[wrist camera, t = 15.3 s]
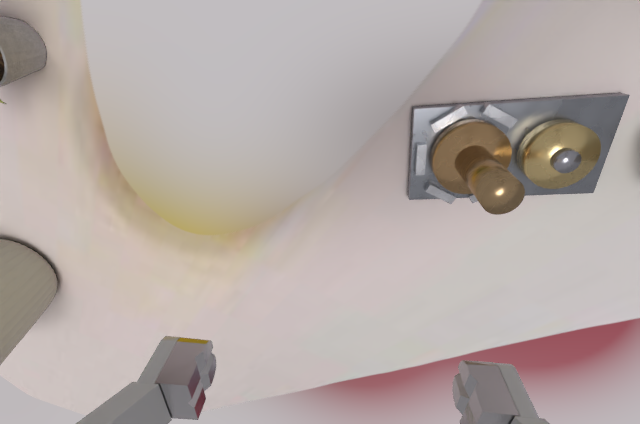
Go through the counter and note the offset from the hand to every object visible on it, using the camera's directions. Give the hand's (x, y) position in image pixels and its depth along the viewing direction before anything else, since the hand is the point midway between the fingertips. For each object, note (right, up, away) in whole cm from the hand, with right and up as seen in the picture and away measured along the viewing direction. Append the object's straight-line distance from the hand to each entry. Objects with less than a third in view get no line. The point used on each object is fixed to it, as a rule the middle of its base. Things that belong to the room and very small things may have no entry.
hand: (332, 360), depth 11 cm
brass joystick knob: (+16, +11, +27) cm, 33 cm away
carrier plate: (+21, +12, +27) cm, 36 cm away
